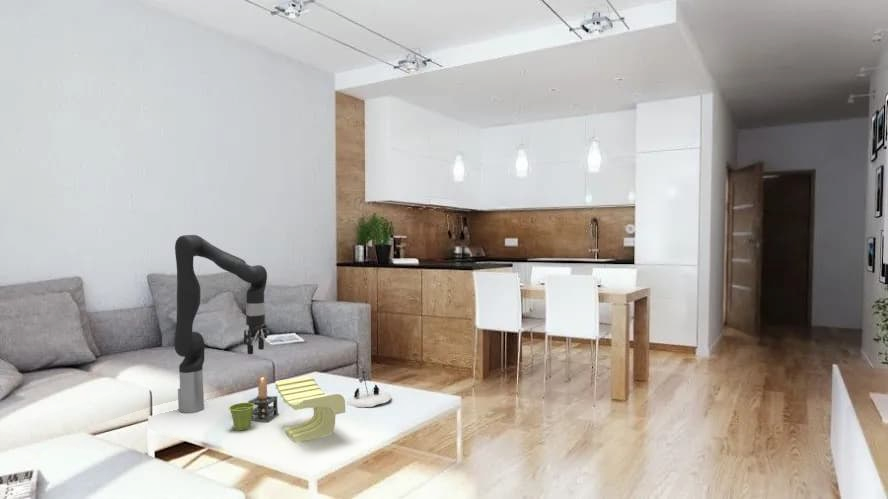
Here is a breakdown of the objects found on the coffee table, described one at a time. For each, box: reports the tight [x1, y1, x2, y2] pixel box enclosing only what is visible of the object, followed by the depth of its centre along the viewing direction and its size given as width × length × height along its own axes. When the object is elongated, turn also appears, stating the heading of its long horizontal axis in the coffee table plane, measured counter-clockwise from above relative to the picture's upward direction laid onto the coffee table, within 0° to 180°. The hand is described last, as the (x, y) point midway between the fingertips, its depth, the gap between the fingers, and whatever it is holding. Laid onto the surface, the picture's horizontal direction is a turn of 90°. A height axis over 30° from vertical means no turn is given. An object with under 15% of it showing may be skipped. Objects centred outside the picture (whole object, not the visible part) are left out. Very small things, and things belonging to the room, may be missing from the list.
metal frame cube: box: [247, 395, 279, 424], centre depth 238 cm, size 9×9×8 cm
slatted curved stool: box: [275, 375, 346, 443], centre depth 221 cm, size 30×16×18 cm, turn 34°
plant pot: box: [228, 402, 255, 431], centre depth 227 cm, size 9×9×9 cm
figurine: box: [346, 366, 392, 408], centre depth 258 cm, size 20×18×16 cm
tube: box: [257, 375, 268, 417], centre depth 238 cm, size 4×4×16 cm
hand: (255, 351), depth 243 cm, fingers open, 8 cm apart
